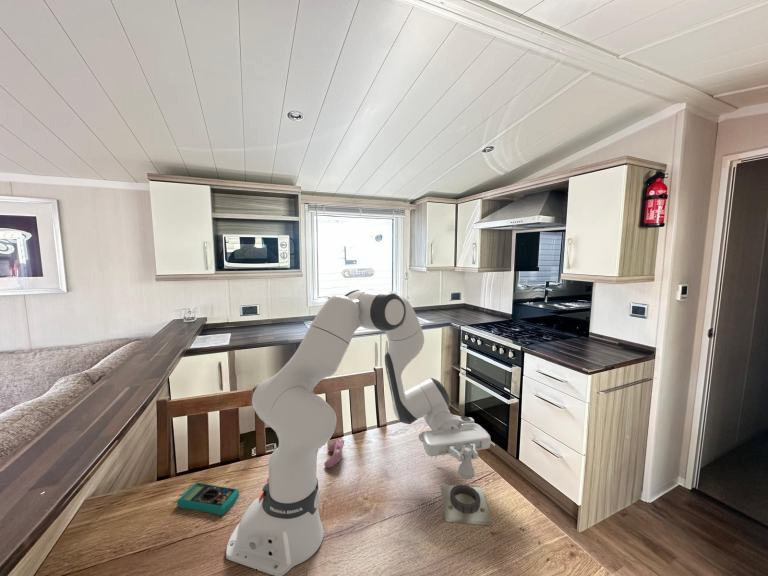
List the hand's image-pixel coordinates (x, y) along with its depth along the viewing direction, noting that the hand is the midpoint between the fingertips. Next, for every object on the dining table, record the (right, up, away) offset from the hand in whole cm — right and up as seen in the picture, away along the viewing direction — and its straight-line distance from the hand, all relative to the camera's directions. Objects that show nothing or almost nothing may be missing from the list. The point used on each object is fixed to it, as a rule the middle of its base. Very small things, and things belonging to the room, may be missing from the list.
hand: (468, 457), depth 86 cm
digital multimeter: (-73, -14, +2) cm, 74 cm away
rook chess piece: (0, -6, +2) cm, 6 cm away
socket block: (-1, -15, +2) cm, 15 cm away
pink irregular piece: (-40, -12, +21) cm, 47 cm away
